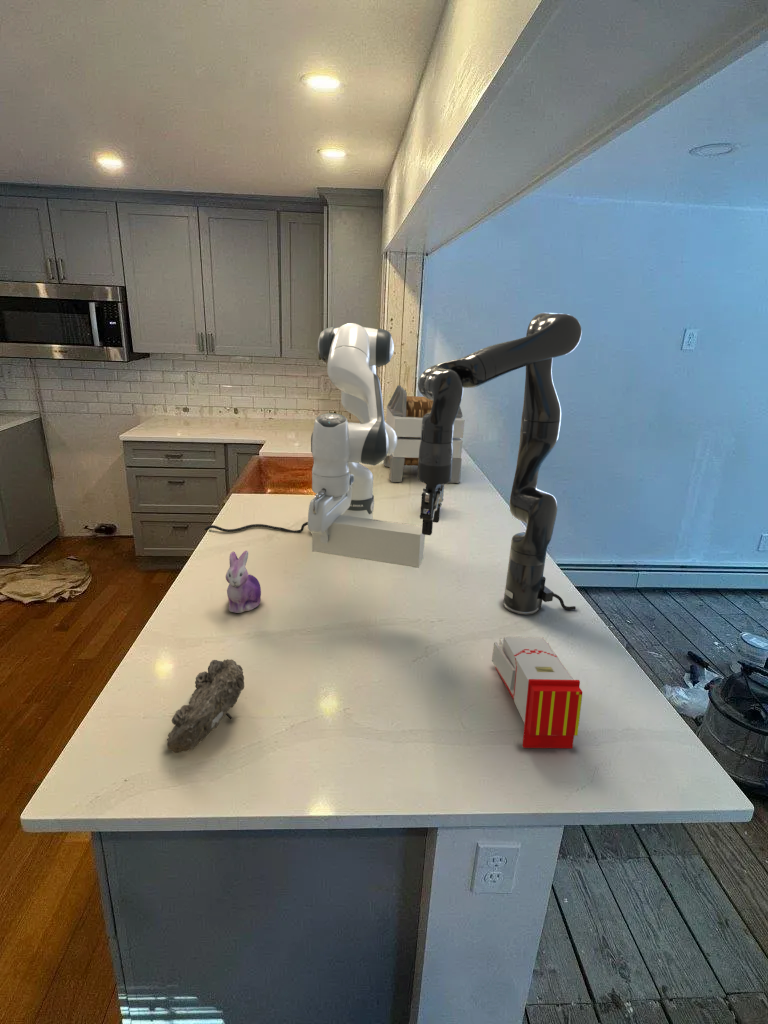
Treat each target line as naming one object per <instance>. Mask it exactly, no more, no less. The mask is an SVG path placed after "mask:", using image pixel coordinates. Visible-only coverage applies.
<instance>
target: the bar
mask: <svg viewBox="0 0 768 1024" xmlns="http://www.w3.org/2000/svg"><path fill="white" fill-rule="evenodd" d="M328 535H329V541H328V542H327V543H321V541H320V534H319V533H313V532H312V534H311V540H312V541H311V545H312V546H311V550H312V552H313V553H319V554H326V555H332V556H339V557H345V558H351V559H359V560H364V561H365V560H366V561H371V562H379V563H385V564H391V565H397V566H404V567H410V568H417V569H418V568H420V566H421V564H422V561H423V560H424V555H425V553H424V552H425V539H426V538H425V537H426V535H424V534H422V525H419V524H418V525H417V524H411V523H404V522H396V521H389V520H388V521H387V520H381V519H375V518H373V519H367V518H360V517H353V516H345V515H340V516H339V517H338V518H337V519H336V520H335V521H334V522H333V524H332V525H331V526H330V527H329V528H328Z"/></svg>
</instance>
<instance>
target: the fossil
mask: <svg viewBox="0 0 768 1024" xmlns="http://www.w3.org/2000/svg"><path fill="white" fill-rule="evenodd" d="M243 670H244V669H243V667H242V665H240V664H237V662H236V661H235V660H234V659H232V658H231V659H227V658H226V659H224V660H223V661H222V660H217V659H212V660H211V661H210V663H209V665H208V666H207V671H201V672H199V673H198V674H197V675H196V676H195V680H194V684H195V685H194V687H195V689H194V690H193V693H192V694H191V697H190V698H189V700H188V704H184V705H182V706H181V707H180V709H177V710H176V711H175V713H174V715H173V716H172V718H171V723H172V724H173V727H172V730H171V731H170V732H168V734H167V738H166V741H167V742H166V745H167V749H168V750H169V751H173V752H174V753H176V754H178V753H182V752H188V751H189V752H192V751H193V750H195V748H196V747H197V746H199V744H200V743H201V742H203V741H204V740H205V739H206V738H207V737H208V736H209V735H210V734H211V733H212V732H214V730H215V729H217V727H218V726H219V724H220V722H221V721H222V720H223V719H224V718H225V716H226V717H227V719H229V720H233V717H232V715H230V714H229V710H230V709H231V708H234V706H235V704H236V703H237V702H238V699H239V697H240V695H241V693H242V691H243V690H245V689H244V688H245V675H244V671H243Z"/></svg>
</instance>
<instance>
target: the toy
mask: <svg viewBox="0 0 768 1024" xmlns="http://www.w3.org/2000/svg"><path fill="white" fill-rule="evenodd" d="M491 662H492V663H493V665H494V667H495V669H496V671H497V673H498V675H499V676H500V678H501V680H502V683H503V684H504V686H505V688H506V689H507V691H508V693H509V695H510V697H511V698H512V700H513V702H514V705H515V707H516V709H517V711H518V713H519V715H520V717H521V719H522V722H523V724H524V725H523V736H522V748H524V749H573V747H574V738H575V736H577V737H578V734H579V725H580V717H581V710H582V709H581V708H582V701H583V700H582V699H583V690H582V689H581V688H580V685H581V681H580V679H574V677H573V676H572V675H571V673H570V672H569V670H568V669H567V668H566V667H565V665H564V664H563V662H562V661H561V660H560V658H559V657H558V656H557V654H556V653H555V651H554V650H553V649H552V647H551V645H550V643H549V642H547V640H546V639H545V637H543V636H542V637H541V636H535V637H534V636H503V637H500V638H499V642H498V643H497V642H494V643H493V649H492V657H491Z"/></svg>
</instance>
